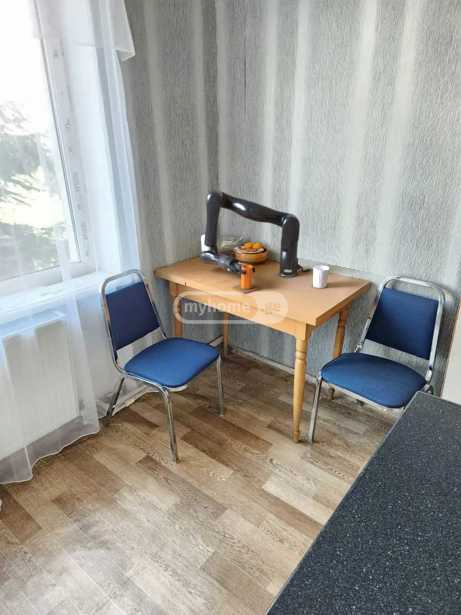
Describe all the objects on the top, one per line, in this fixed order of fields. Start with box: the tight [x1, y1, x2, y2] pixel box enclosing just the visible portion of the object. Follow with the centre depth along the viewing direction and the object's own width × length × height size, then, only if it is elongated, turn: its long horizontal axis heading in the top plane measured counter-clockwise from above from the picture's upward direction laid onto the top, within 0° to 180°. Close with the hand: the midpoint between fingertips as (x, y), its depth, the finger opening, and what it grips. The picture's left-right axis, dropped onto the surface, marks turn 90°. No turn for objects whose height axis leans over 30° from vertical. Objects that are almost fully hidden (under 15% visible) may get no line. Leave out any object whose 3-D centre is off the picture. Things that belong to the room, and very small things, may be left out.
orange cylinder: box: [240, 265, 253, 289], centre depth 200 cm, size 6×6×11 cm
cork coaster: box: [232, 284, 261, 294], centre depth 203 cm, size 10×10×1 cm
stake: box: [230, 252, 236, 258], centre depth 231 cm, size 9×9×9 cm
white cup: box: [312, 265, 330, 289], centre depth 203 cm, size 8×8×10 cm
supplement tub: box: [200, 234, 210, 252], centre depth 246 cm, size 10×10×15 cm
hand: (250, 271), depth 197 cm, fingers closed on orange cylinder, 5 cm apart
